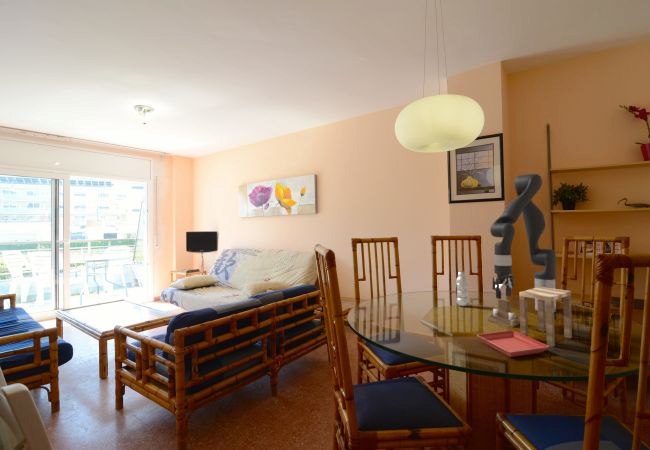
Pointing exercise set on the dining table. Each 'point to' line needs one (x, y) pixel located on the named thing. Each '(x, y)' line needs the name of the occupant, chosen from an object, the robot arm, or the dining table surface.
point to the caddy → (504, 314)
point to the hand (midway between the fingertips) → (503, 297)
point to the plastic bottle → (462, 289)
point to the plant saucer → (512, 343)
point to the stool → (549, 296)
